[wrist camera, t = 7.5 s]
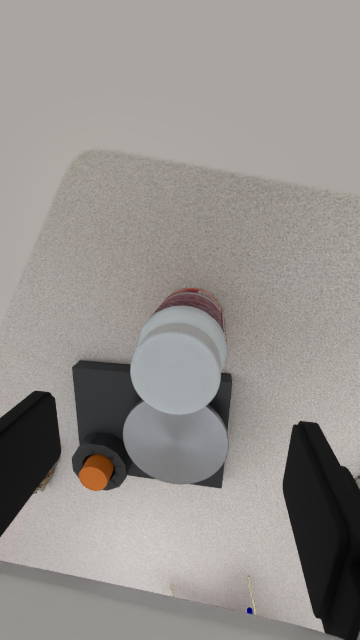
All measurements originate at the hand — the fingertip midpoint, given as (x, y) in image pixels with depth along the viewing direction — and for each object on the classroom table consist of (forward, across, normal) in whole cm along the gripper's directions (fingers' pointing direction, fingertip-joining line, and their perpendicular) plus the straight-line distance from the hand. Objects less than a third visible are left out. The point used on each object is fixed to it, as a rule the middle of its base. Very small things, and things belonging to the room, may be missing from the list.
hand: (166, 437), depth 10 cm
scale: (+16, +4, +12) cm, 20 cm away
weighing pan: (+12, +2, +11) cm, 17 cm away
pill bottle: (+16, +1, 0) cm, 16 cm away
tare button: (+13, +9, +16) cm, 22 cm away
